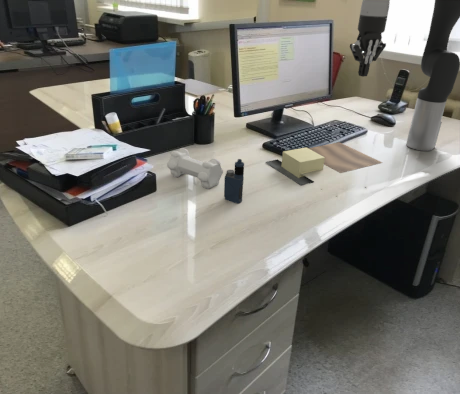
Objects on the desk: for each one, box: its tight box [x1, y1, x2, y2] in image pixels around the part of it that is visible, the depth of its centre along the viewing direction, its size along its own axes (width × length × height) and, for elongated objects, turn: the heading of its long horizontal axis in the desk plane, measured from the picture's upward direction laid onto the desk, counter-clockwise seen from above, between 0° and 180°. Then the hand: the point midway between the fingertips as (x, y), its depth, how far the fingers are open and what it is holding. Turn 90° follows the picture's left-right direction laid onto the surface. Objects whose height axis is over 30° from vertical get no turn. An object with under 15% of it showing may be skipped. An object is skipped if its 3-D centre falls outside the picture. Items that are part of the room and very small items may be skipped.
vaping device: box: [223, 158, 245, 204], centre depth 111 cm, size 3×5×12 cm, turn 58°
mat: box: [265, 159, 315, 186], centre depth 133 cm, size 14×18×1 cm
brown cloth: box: [308, 141, 383, 174], centre depth 140 cm, size 18×20×2 cm
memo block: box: [281, 146, 325, 178], centre depth 131 cm, size 9×9×5 cm
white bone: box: [166, 147, 224, 190], centre depth 122 cm, size 15×9×8 cm, turn 54°
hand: (362, 75), depth 130 cm, fingers closed
